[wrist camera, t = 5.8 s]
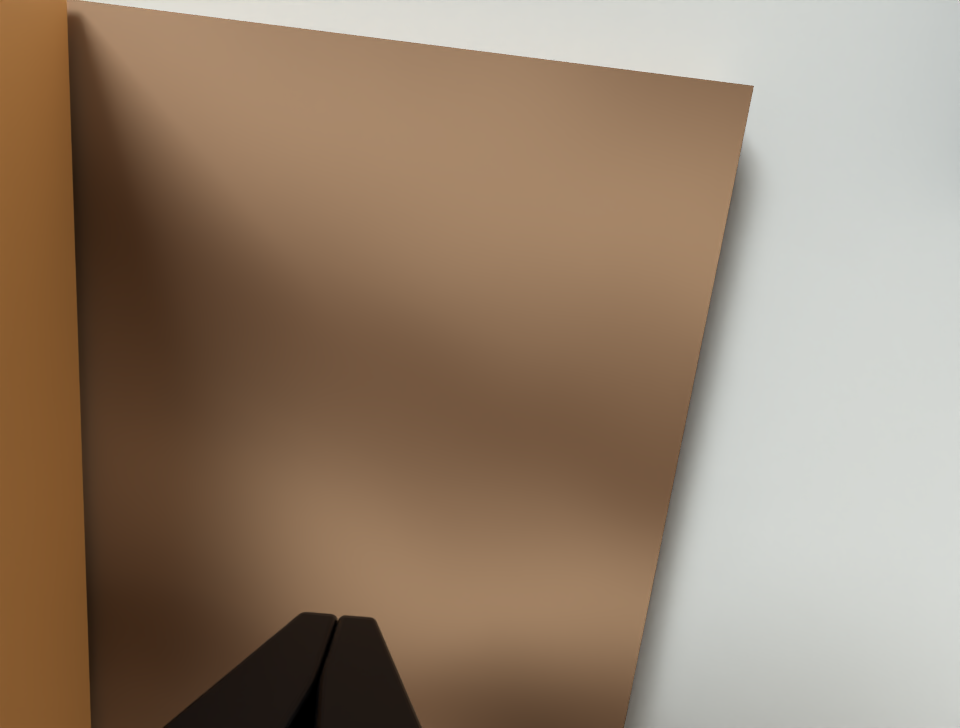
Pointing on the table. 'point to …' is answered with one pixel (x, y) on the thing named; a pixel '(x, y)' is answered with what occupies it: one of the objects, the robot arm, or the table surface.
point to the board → (382, 354)
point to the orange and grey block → (39, 382)
